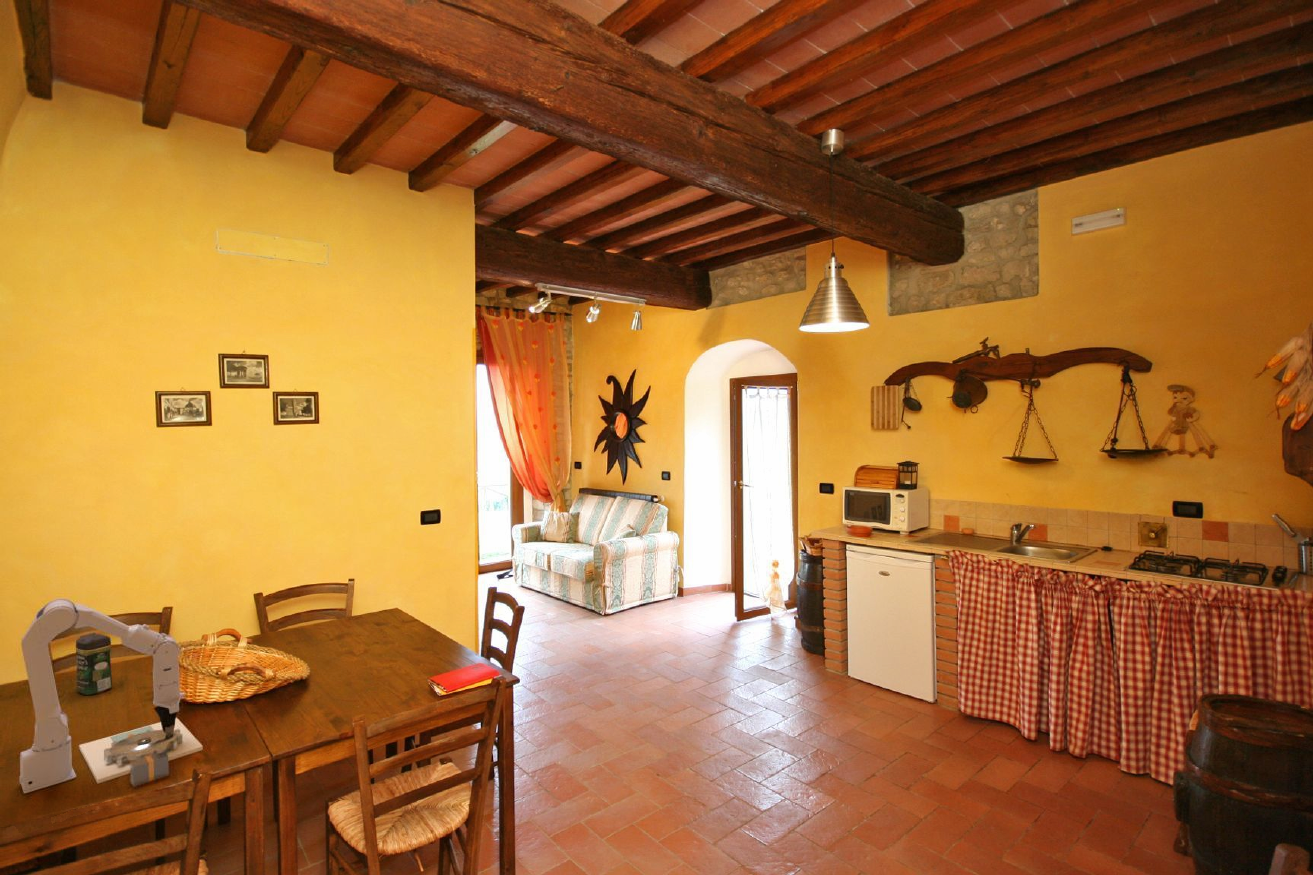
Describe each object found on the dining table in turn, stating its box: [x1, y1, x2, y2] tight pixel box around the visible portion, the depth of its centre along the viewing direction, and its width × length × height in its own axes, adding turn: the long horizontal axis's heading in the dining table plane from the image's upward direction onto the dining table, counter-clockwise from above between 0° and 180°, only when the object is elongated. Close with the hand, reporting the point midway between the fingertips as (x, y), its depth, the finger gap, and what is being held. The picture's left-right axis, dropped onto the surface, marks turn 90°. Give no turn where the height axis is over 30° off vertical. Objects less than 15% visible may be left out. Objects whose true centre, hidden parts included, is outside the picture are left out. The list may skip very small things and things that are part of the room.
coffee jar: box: [75, 632, 113, 696], centre depth 217 cm, size 10×8×19 cm
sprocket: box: [104, 725, 183, 766], centre depth 176 cm, size 17×17×5 cm
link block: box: [129, 752, 170, 788], centre depth 164 cm, size 7×4×5 cm, turn 139°
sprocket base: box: [78, 717, 204, 784], centre depth 178 cm, size 22×26×1 cm
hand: (168, 730), depth 179 cm, fingers closed, pressing on sprocket
